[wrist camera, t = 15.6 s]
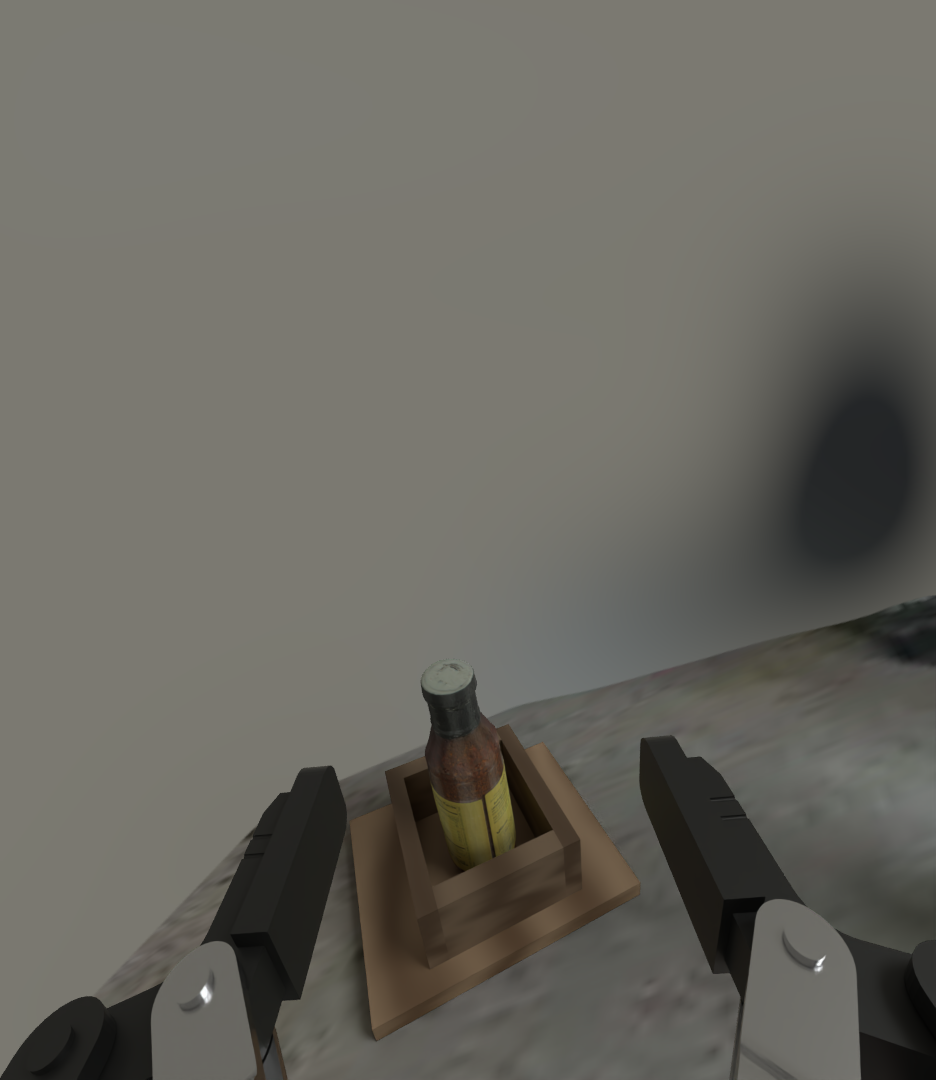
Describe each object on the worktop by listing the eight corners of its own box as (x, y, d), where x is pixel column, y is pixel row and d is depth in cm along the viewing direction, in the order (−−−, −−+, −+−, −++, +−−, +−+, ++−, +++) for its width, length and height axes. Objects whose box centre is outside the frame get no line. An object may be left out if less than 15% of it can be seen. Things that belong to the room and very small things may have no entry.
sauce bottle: (500, 806, 43) (478, 637, 36) (530, 867, 37) (511, 681, 30) (437, 834, 41) (400, 662, 34) (459, 903, 35) (421, 714, 28)
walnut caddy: (543, 751, 50) (539, 700, 47) (639, 894, 36) (641, 832, 33) (352, 830, 44) (335, 777, 41) (376, 1041, 30) (352, 979, 27)
